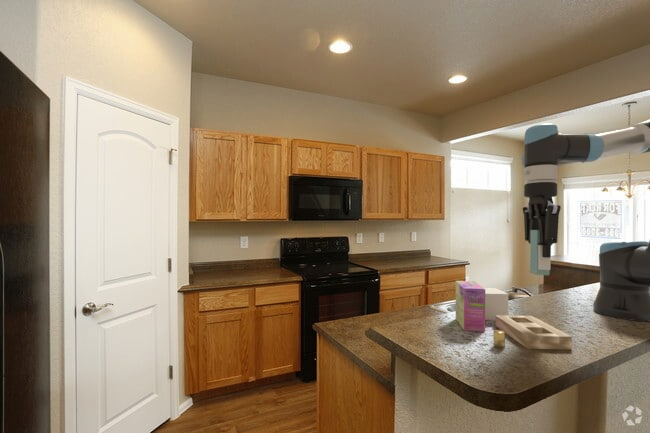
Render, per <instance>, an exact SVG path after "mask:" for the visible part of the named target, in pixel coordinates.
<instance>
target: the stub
mask: <svg viewBox="0 0 650 433" xmlns="http://www.w3.org/2000/svg"><path fill="white" fill-rule="evenodd" d="M493 347H494V348H497V349H505V348H506V333H505V332H503V331H502V330H501V329H498V330H497V329H496V330H493Z"/></svg>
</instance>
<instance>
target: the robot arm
mask: <svg viewBox="0 0 650 433" xmlns="http://www.w3.org/2000/svg"><path fill="white" fill-rule="evenodd" d="M523 148H524V150H523V151H524V152H523V153H522V156H521V164H522V167H523V168H524V170H523V171H522V172H523V174H524V176H523V177H524V178H523V179H524V180H523V181H524V182H525V184H524V185H523V196H524V198H529V200H528V205H527V206H524V207H522V213H523V225H524V240H525V242H528V244H530V231H531V230H539V233H540V243H538V269H539V270H550V271H551V266H552V265H551V256H552V246H553V244H557V243H558V238H559V236H558V234H559V218H560V212H561V205H558V204H557V205H556V204H554V200H553V198H554V197H557V196H558V183H557V182H556V181H558V167H561V166H565V165H571V164H576V163H582V164H584V163H592V162H595V161H597V160H599V159H601V158H607V157H612V156H618V155H623V154H627V153H629V154H631V155H640V154H646V153H650V119H648V120H645V121H642V122H639V123H634V124H631V125H629V126H627V127H626V128H624V129H619V130H614V131H608V132H603V133H598V134H590V133H560V132H559V129H558V126H557V125H556V124H553V123H542V124H541V123H540V124H536V125H533V126H530V127H528V128H527V129H526V130H525V132H524V142H523ZM598 261H599V262H598V265H599V267H598V268H599V289H598V291H597V294H596V296H595V299H594V301H593V311H594V312H596V313H598V314H601V315H605V316H608V317H612V318H618V319H623V320H630V321H640V322H641V321H642V322H650V240H648V241H645V240H640V241H639V240H638V241H613V242H612V241H611V242H604V243H602V244H601V245H600V247H599V253H598Z"/></svg>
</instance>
